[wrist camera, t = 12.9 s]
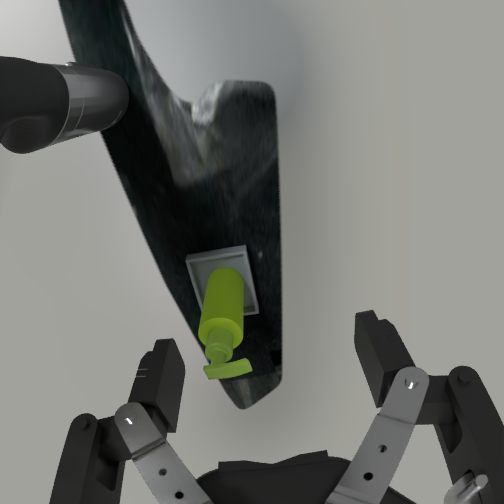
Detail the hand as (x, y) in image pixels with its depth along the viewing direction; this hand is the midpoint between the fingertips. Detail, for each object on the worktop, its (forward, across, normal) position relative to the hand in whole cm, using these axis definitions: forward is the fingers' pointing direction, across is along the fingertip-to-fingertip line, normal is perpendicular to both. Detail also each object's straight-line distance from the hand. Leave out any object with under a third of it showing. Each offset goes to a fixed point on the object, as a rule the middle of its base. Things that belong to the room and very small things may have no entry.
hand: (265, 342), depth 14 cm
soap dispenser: (+35, +6, +18) cm, 40 cm away
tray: (+35, +7, +18) cm, 40 cm away
